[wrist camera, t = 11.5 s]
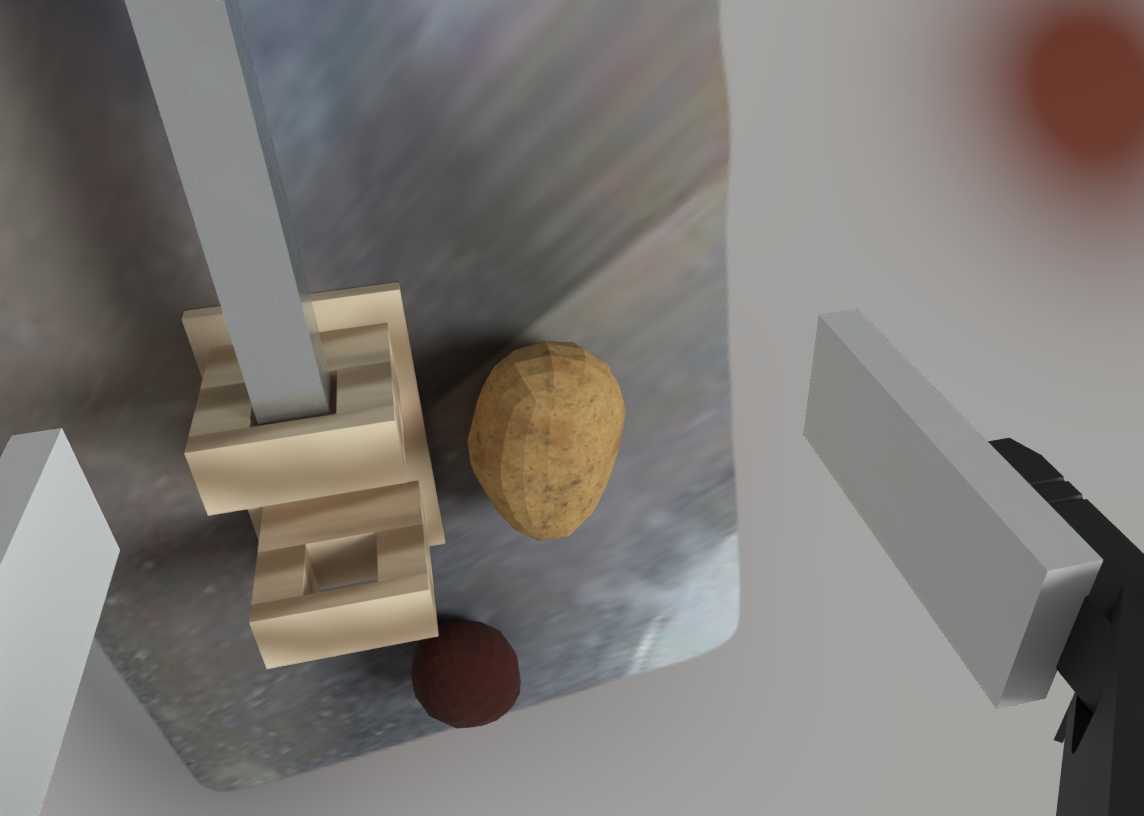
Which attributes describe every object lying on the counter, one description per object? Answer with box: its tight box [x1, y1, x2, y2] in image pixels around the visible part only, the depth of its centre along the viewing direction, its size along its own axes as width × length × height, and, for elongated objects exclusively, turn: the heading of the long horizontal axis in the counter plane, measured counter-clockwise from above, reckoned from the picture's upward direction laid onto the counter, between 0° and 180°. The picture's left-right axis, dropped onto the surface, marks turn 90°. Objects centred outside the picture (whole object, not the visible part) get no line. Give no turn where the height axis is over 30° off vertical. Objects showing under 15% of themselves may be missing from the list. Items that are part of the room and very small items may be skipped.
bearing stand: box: [182, 282, 445, 669], centre depth 52 cm, size 20×12×11 cm, turn 3°
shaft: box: [125, 0, 337, 426], centre depth 39 cm, size 26×5×5 cm, turn 3°
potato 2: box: [411, 620, 521, 728], centre depth 66 cm, size 8×9×8 cm
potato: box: [467, 341, 626, 541], centre depth 55 cm, size 10×14×8 cm
